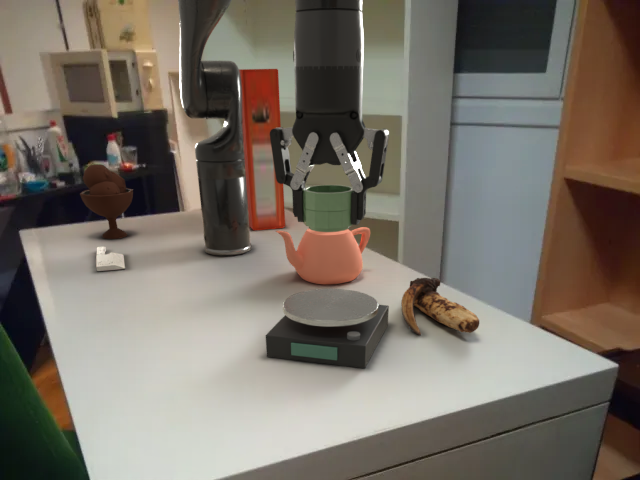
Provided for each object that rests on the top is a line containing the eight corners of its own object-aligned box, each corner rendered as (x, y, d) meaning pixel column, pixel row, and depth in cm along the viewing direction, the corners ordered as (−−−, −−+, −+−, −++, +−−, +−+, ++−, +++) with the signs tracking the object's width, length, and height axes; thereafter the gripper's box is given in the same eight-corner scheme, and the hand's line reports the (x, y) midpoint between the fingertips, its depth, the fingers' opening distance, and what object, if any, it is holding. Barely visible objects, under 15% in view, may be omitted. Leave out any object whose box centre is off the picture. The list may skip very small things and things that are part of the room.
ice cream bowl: (126, 242, 128) (113, 167, 120) (79, 240, 130) (63, 166, 122) (148, 231, 137) (137, 160, 129) (104, 229, 139) (90, 160, 131)
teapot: (384, 278, 105) (387, 223, 100) (290, 293, 98) (288, 234, 93) (352, 261, 114) (353, 210, 109) (265, 273, 108) (262, 219, 103)
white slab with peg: (123, 249, 123) (122, 244, 122) (124, 269, 111) (123, 263, 110) (97, 251, 122) (96, 245, 121) (96, 271, 109) (95, 265, 109)
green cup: (312, 221, 77) (312, 183, 74) (358, 223, 75) (359, 185, 73) (297, 231, 72) (296, 192, 69) (346, 234, 70) (347, 194, 68)
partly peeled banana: (376, 307, 93) (431, 348, 78) (375, 278, 91) (433, 314, 76) (429, 298, 95) (492, 336, 81) (430, 269, 93) (496, 303, 78)
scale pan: (300, 290, 85) (300, 285, 85) (386, 298, 82) (386, 292, 82) (269, 321, 75) (269, 315, 75) (366, 331, 72) (366, 325, 72)
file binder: (251, 230, 137) (241, 68, 120) (237, 215, 151) (226, 69, 134) (285, 228, 139) (279, 68, 122) (268, 213, 153) (261, 69, 137)
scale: (302, 316, 89) (301, 293, 87) (387, 325, 85) (389, 301, 84) (265, 357, 76) (264, 331, 74) (364, 369, 73) (365, 342, 71)
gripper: (400, 62, 66) (392, 219, 74) (278, 64, 69) (284, 213, 78) (387, 61, 60) (380, 232, 68) (254, 63, 63) (263, 225, 72)
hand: (328, 221), depth 73 cm, fingers closed on green cup, 6 cm apart
